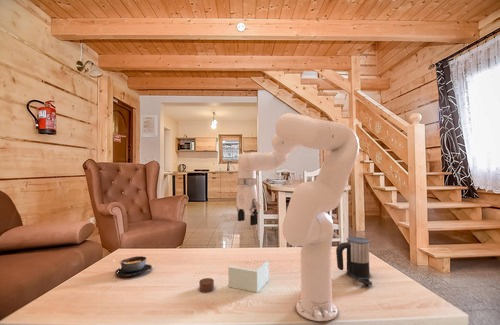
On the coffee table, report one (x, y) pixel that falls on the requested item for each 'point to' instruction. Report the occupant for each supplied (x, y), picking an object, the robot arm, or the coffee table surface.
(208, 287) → the brown cylinder
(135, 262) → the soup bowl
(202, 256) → the coffee table surface
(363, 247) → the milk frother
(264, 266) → the right angle wall
